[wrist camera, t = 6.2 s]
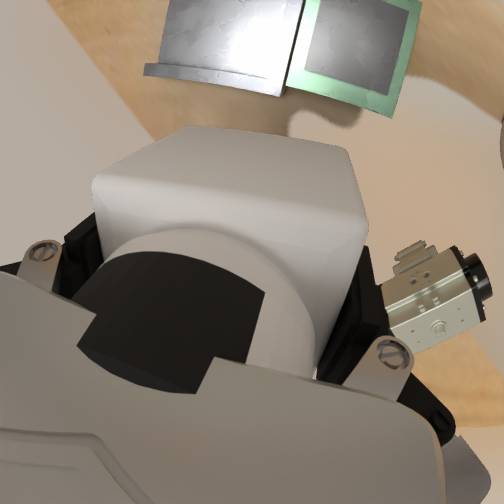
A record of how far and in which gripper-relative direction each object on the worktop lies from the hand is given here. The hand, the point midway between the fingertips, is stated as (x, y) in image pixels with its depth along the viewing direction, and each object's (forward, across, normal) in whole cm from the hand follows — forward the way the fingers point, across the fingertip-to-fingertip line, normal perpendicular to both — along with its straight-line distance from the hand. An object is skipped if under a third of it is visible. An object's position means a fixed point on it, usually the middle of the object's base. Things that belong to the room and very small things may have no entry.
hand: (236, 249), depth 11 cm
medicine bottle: (+4, 0, 0) cm, 4 cm away
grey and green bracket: (+20, +3, -10) cm, 22 cm away
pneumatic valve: (+20, -16, +8) cm, 27 cm away
